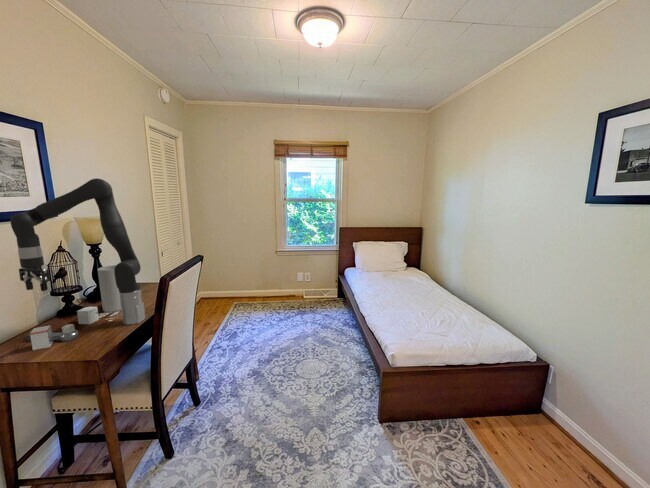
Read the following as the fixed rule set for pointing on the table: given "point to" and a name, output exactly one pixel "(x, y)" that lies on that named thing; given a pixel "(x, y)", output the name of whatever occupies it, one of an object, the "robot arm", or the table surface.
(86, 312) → the skincare box
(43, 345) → the white rectangular block
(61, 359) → the table surface
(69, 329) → the ratchet
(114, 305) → the cylinder vase
